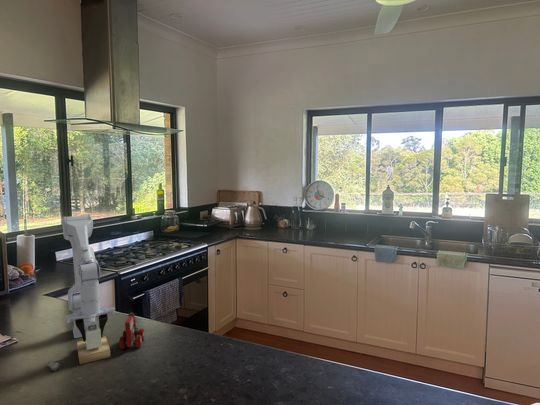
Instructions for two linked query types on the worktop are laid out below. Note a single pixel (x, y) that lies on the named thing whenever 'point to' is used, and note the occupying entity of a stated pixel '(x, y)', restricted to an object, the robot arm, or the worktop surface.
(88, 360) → the tan wooden block
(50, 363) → the bolt
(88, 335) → the block
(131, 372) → the worktop surface
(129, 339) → the toy fire truck
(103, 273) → the worktop surface
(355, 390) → the worktop surface
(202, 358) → the worktop surface
